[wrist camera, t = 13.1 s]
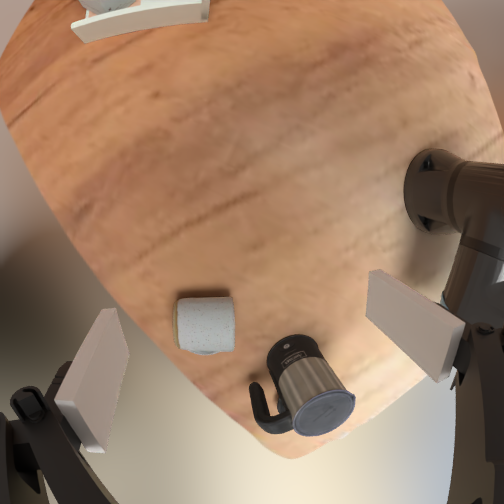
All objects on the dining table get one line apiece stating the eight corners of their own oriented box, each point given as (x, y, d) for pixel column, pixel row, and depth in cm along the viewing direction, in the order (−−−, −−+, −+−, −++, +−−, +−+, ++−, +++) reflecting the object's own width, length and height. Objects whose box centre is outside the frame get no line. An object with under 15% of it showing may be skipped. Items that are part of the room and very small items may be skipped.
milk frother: (297, 323, 46) (334, 380, 32) (346, 366, 51) (384, 417, 37) (234, 377, 47) (250, 443, 33) (291, 412, 52) (315, 468, 38)
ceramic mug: (173, 289, 41) (169, 315, 34) (230, 287, 42) (237, 313, 35) (179, 350, 44) (178, 381, 37) (231, 348, 46) (237, 378, 38)
